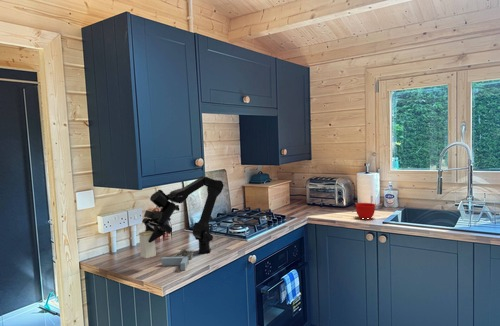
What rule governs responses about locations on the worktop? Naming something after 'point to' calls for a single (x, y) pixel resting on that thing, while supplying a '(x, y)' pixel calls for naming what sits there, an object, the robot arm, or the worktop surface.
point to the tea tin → (147, 245)
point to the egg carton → (184, 254)
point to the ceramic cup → (365, 210)
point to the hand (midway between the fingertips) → (146, 241)
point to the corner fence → (175, 261)
